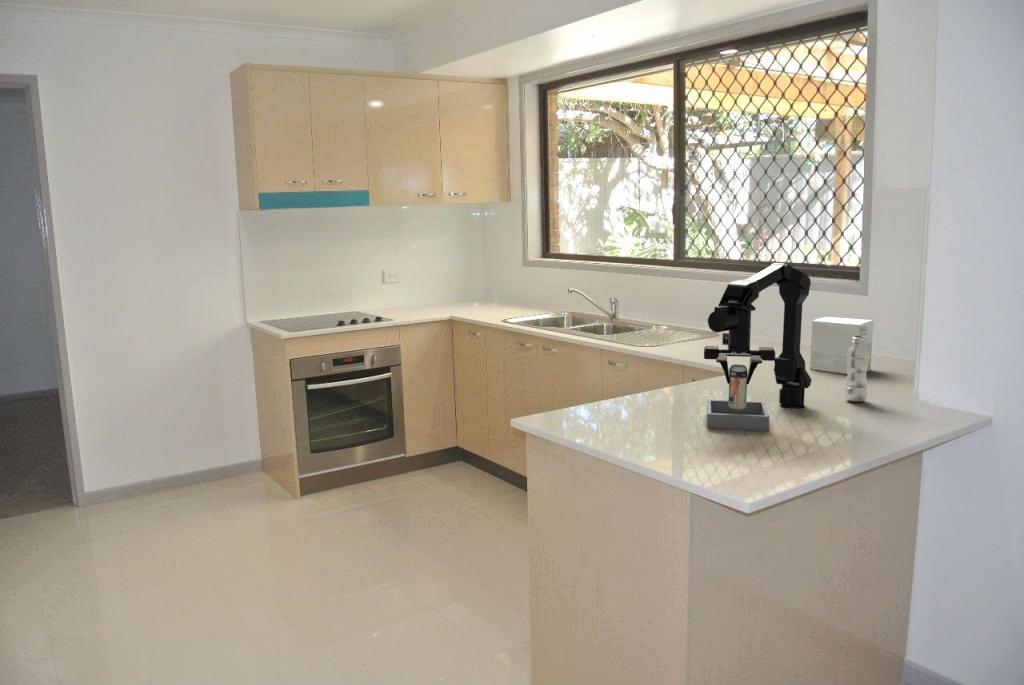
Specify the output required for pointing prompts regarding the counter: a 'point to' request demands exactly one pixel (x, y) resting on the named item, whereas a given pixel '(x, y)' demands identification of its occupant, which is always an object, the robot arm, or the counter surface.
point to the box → (737, 416)
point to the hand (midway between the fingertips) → (737, 383)
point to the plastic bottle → (857, 370)
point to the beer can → (737, 387)
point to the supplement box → (837, 342)
